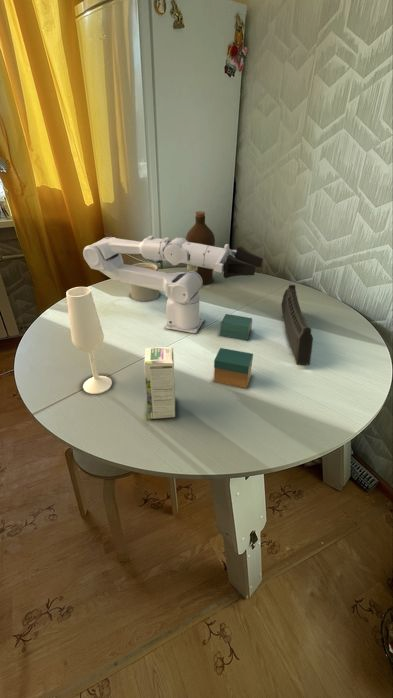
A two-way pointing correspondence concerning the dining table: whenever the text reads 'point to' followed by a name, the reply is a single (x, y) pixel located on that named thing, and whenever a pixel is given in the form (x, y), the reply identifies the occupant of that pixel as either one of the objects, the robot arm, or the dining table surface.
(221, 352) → the dark teal flat block
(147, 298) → the coffee mug
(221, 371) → the orange brown block
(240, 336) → the dark green block
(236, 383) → the brown wooden block
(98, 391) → the champagne flute
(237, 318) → the dark green block
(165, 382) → the syrup box
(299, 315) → the magazine
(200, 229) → the olive oil
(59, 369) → the dining table surface
